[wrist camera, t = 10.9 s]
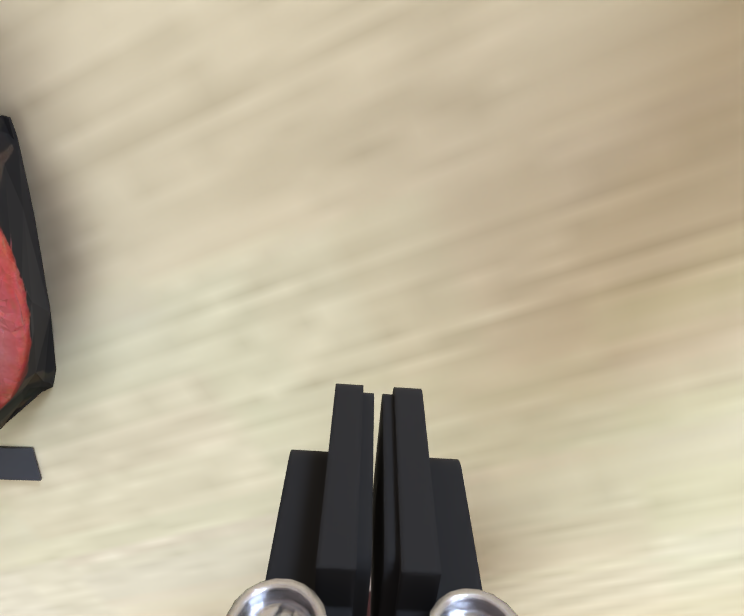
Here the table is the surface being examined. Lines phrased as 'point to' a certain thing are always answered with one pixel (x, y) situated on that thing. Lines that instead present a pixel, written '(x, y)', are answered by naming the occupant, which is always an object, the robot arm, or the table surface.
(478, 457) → the table surface
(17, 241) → the baking dish
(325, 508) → the robot arm
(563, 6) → the table surface
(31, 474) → the tape outline
